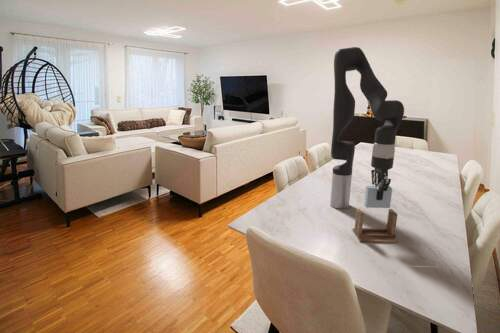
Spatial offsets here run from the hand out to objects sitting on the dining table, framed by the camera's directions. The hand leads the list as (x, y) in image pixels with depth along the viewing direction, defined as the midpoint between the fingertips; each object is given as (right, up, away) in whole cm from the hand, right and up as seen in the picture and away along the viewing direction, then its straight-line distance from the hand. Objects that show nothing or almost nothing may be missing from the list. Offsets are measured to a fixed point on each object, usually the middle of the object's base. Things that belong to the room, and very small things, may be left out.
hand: (377, 198), depth 114 cm
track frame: (0, -16, +4) cm, 16 cm away
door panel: (0, -3, +1) cm, 3 cm away
